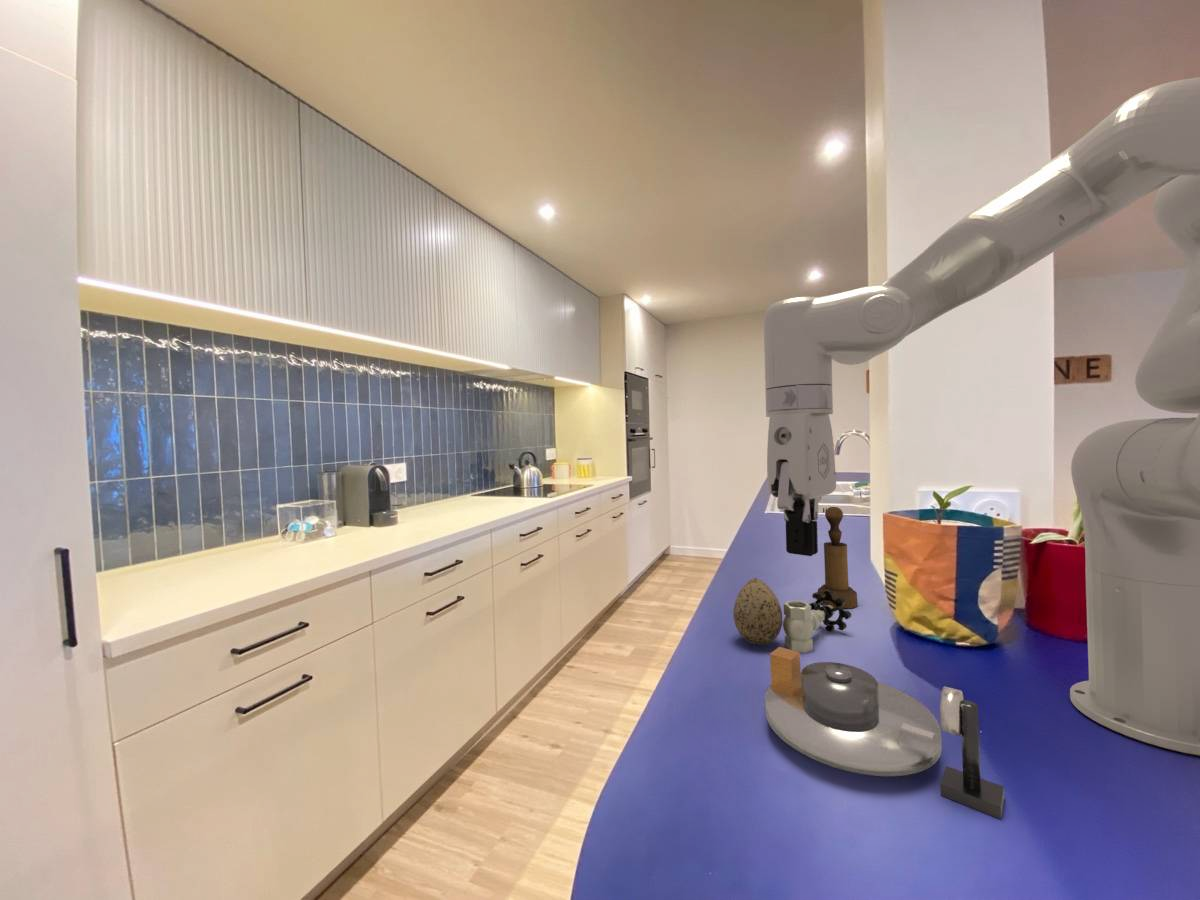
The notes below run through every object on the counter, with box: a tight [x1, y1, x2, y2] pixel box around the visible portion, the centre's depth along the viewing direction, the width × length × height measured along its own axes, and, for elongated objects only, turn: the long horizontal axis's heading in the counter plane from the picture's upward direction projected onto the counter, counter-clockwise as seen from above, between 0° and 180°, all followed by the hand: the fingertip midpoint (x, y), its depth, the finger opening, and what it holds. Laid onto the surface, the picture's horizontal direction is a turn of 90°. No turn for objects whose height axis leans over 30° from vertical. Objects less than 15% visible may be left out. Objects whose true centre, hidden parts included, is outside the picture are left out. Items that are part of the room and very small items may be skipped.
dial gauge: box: [939, 686, 1005, 820], centre depth 40 cm, size 4×4×9 cm
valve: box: [782, 590, 852, 654], centre depth 73 cm, size 7×7×12 cm
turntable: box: [764, 646, 942, 777], centre depth 49 cm, size 16×16×6 cm
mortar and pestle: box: [817, 506, 858, 609], centre depth 88 cm, size 7×6×18 cm
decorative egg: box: [732, 577, 783, 646], centre depth 73 cm, size 7×7×10 cm
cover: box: [801, 661, 879, 732], centre depth 49 cm, size 7×7×4 cm
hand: (801, 553), depth 58 cm, fingers closed
